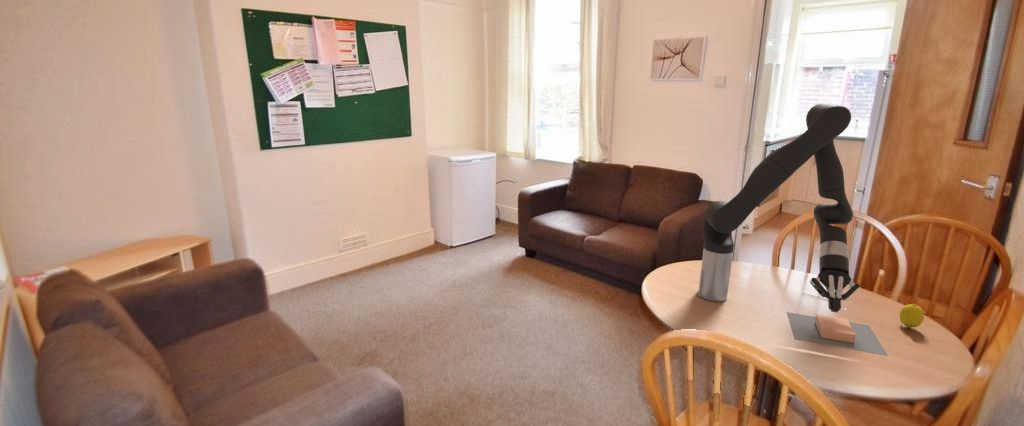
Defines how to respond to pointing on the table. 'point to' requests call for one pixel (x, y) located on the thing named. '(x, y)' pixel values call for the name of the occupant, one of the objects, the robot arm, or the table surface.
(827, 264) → the robot arm
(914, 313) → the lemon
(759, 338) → the table surface
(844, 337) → the tile
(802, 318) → the mat
